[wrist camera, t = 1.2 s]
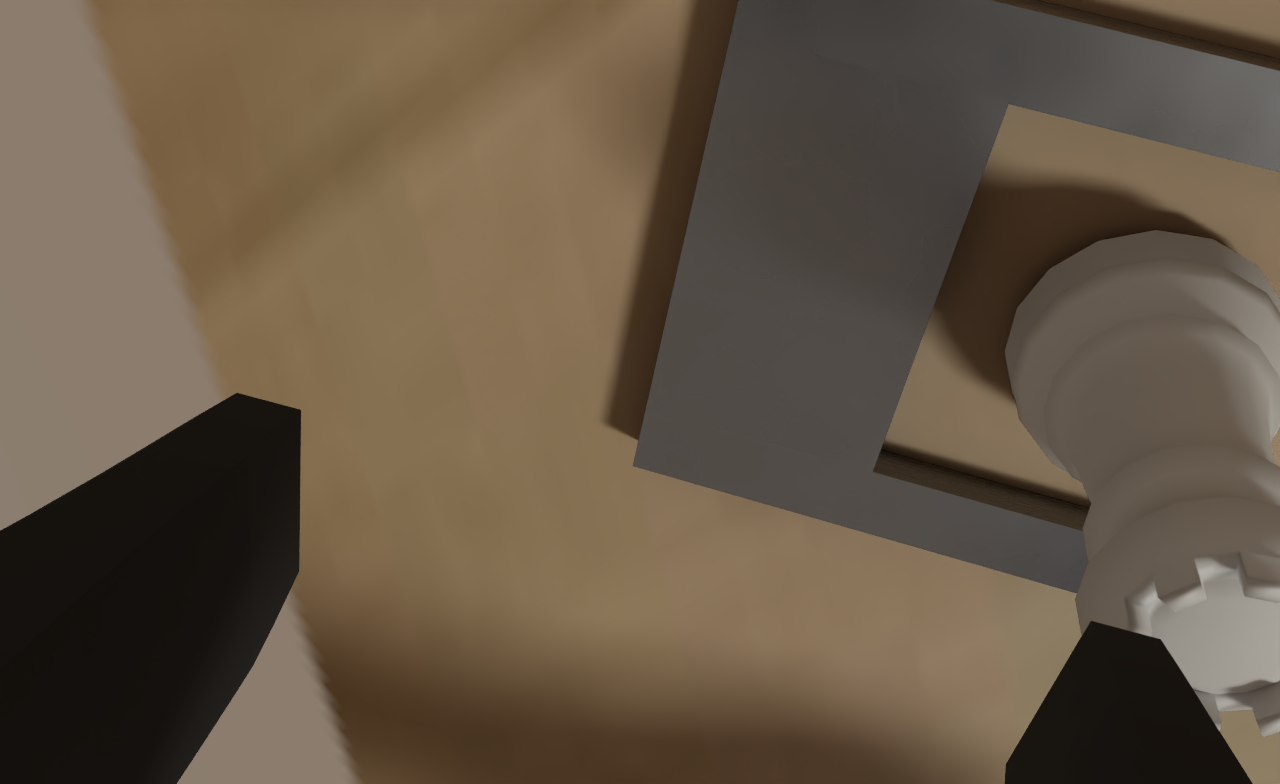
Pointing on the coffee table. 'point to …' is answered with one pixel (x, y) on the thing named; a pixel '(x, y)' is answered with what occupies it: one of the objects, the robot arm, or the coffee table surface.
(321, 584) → the coffee table surface
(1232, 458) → the rook chess piece
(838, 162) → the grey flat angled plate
